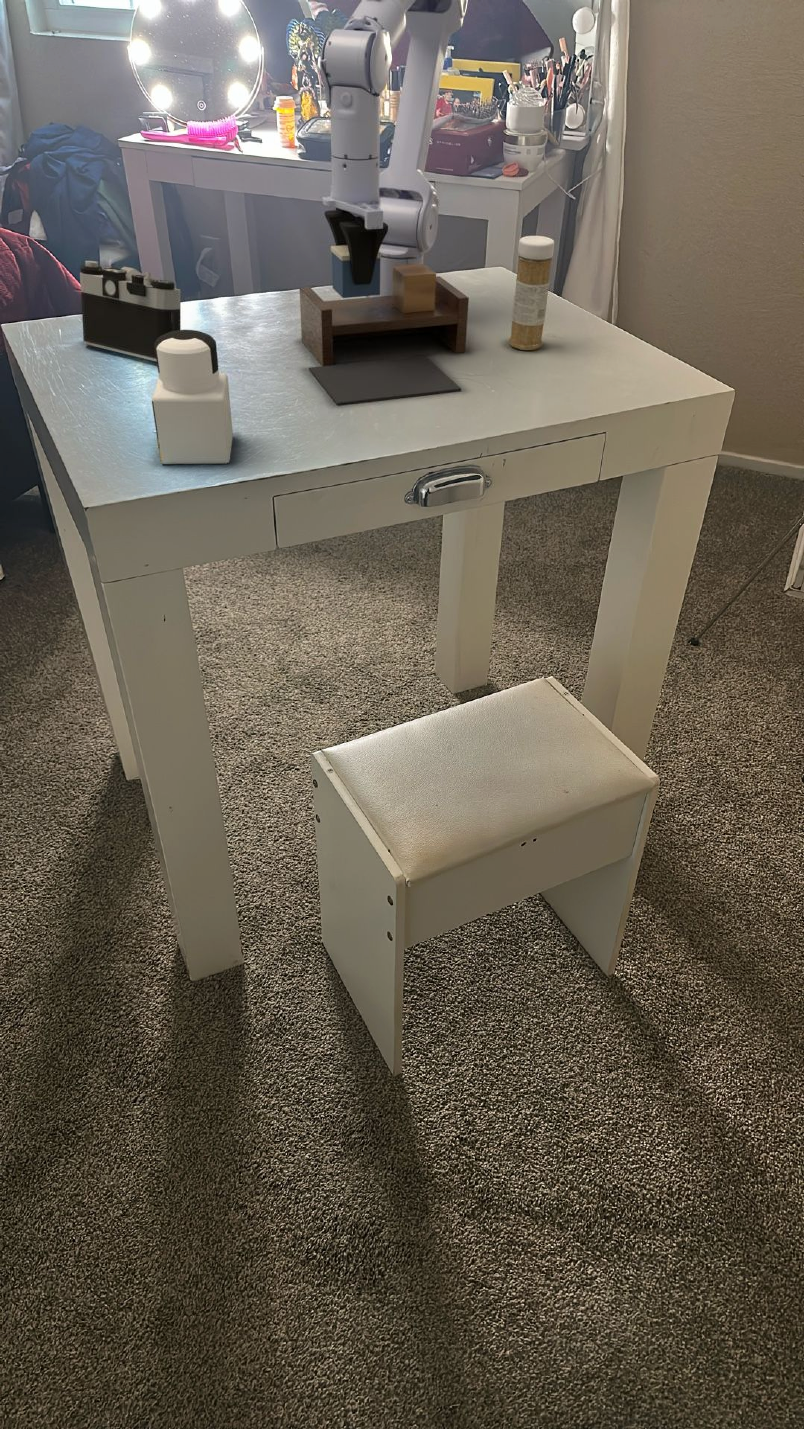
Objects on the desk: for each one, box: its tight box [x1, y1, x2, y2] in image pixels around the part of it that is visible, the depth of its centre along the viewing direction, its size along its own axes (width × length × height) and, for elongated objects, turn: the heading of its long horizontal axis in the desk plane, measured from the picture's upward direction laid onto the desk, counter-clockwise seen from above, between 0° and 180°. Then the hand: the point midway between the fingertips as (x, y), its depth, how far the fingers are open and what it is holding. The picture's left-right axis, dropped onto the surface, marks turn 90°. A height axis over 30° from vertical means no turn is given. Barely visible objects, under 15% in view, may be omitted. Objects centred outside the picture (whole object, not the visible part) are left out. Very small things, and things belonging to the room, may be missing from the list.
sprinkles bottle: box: [509, 235, 555, 351], centre depth 124 cm, size 5×5×13 cm
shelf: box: [299, 276, 470, 366], centre depth 124 cm, size 10×20×7 cm, turn 111°
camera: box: [79, 260, 182, 363], centre depth 121 cm, size 15×11×10 cm
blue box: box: [330, 245, 381, 299], centre depth 118 cm, size 5×5×5 cm
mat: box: [308, 355, 462, 406], centre depth 117 cm, size 12×16×1 cm
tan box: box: [392, 263, 437, 313], centre depth 122 cm, size 4×4×5 cm
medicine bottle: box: [151, 329, 234, 465], centre depth 96 cm, size 7×7×12 cm
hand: (356, 278), depth 119 cm, fingers closed on blue box, 4 cm apart
